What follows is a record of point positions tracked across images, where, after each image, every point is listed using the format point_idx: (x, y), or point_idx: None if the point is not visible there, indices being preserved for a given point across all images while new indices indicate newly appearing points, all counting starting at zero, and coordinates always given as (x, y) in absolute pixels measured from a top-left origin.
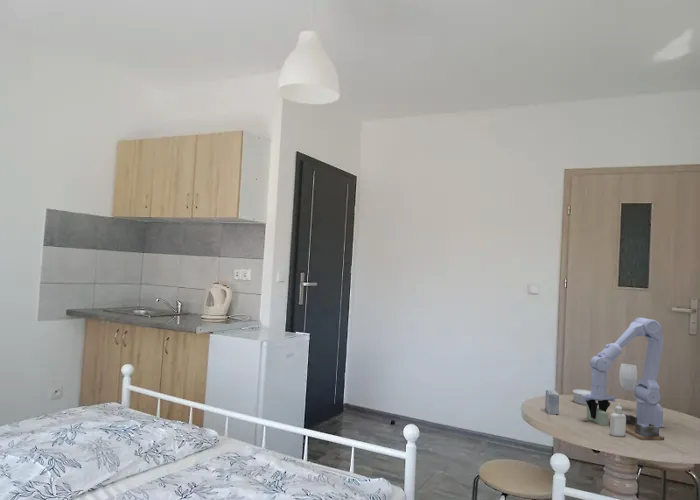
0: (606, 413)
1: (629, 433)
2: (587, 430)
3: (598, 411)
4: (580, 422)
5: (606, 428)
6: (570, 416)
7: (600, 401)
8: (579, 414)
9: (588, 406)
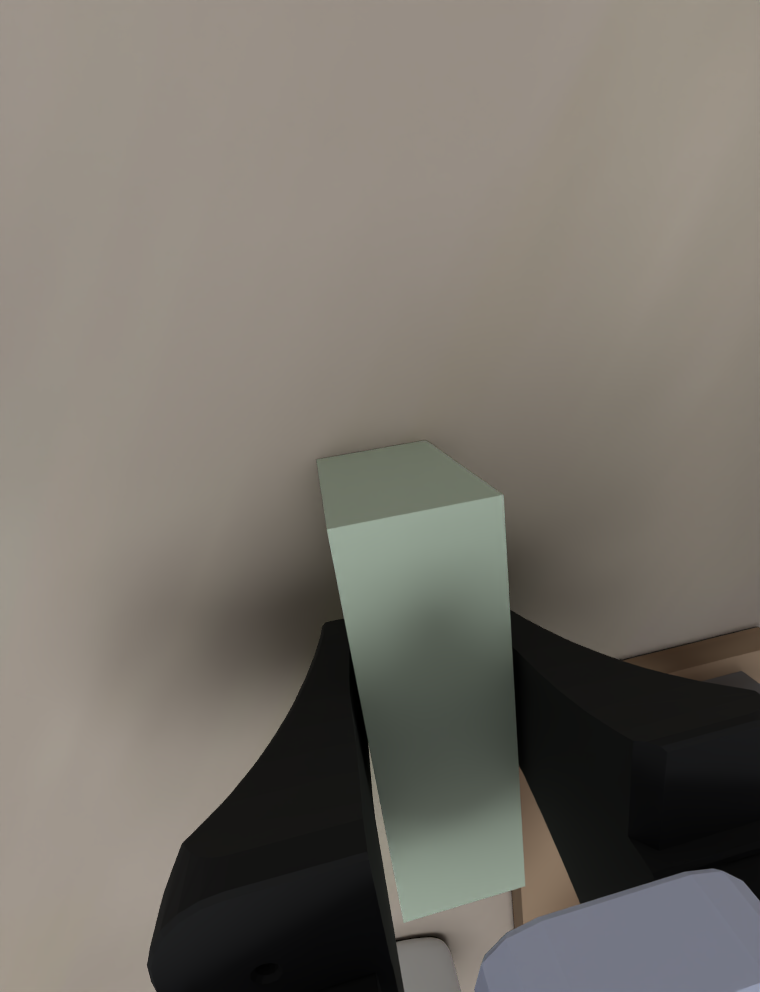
0: (488, 888)
1: (517, 925)
2: (115, 958)
3: (391, 859)
4: (123, 714)
5: (378, 829)
6: (36, 436)
7: (632, 862)
8: (268, 254)
9: (268, 752)
